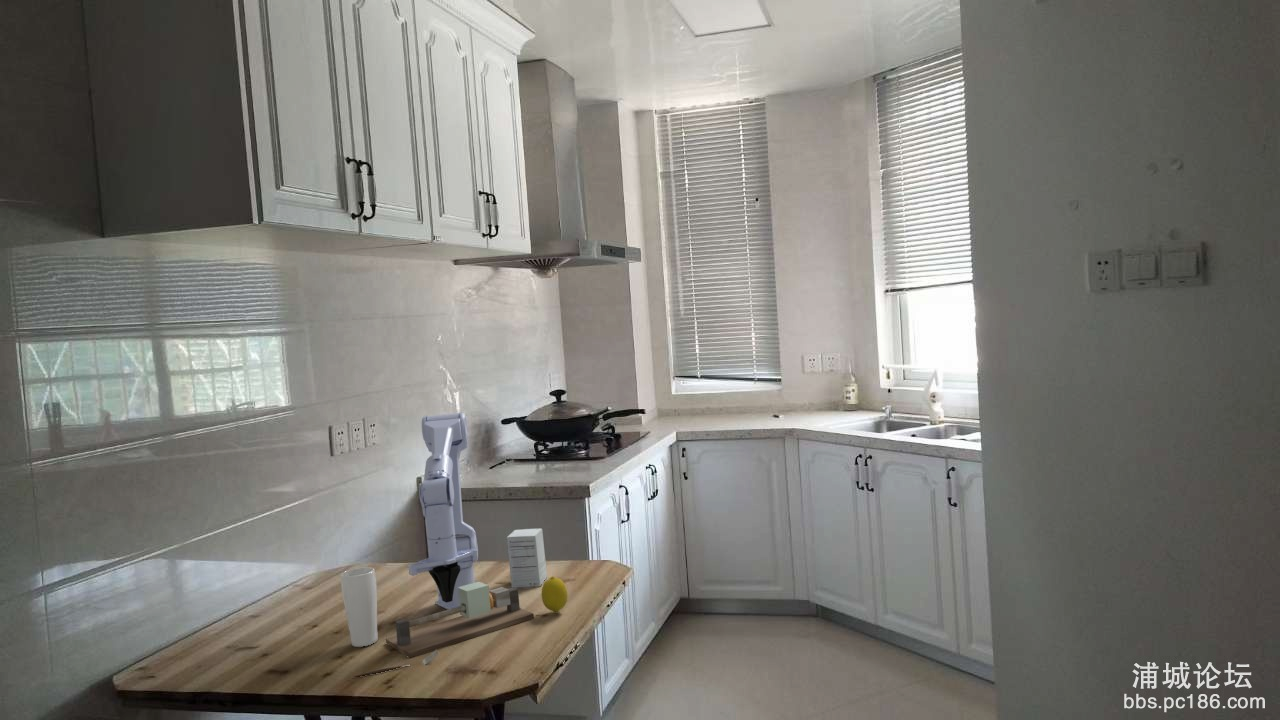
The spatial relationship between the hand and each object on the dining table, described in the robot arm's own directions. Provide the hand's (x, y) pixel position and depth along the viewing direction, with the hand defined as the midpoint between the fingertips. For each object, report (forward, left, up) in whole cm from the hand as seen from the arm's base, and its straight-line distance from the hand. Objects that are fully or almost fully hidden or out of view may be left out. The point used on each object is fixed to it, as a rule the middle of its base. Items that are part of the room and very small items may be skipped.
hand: (447, 600), depth 177 cm
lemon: (+7, +21, -7) cm, 24 cm away
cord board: (0, +2, -7) cm, 7 cm away
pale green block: (0, +6, -4) cm, 7 cm away
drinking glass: (-10, -15, -7) cm, 19 cm away
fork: (+9, -16, -8) cm, 20 cm away
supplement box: (-18, +29, -7) cm, 35 cm away
